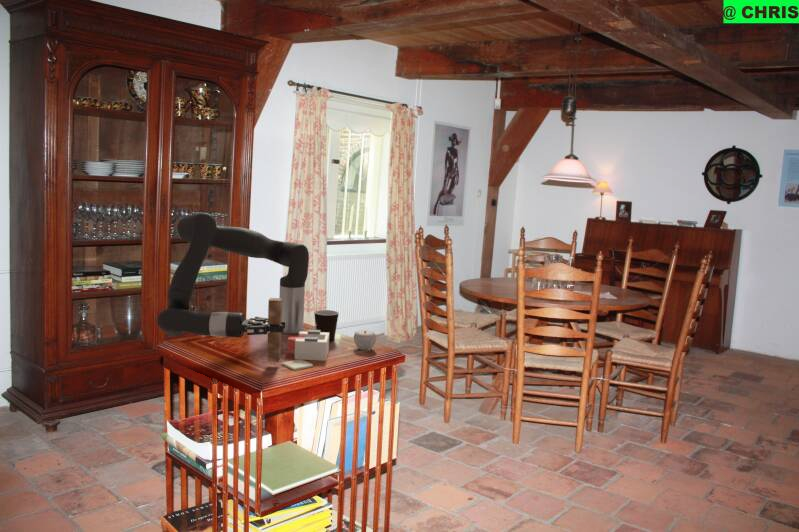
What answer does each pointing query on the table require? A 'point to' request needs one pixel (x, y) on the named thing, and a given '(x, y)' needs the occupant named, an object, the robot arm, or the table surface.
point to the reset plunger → (292, 342)
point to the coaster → (297, 364)
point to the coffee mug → (326, 322)
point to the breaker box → (312, 345)
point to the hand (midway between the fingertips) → (283, 326)
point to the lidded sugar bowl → (364, 339)
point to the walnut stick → (274, 337)
